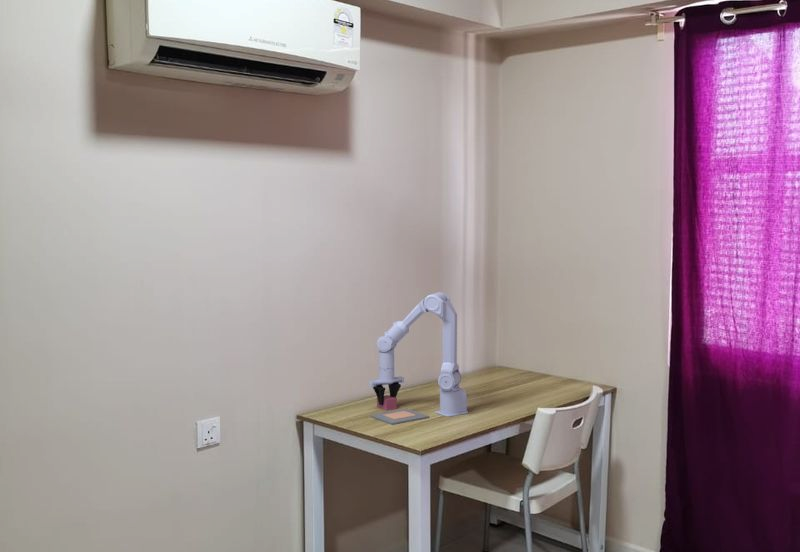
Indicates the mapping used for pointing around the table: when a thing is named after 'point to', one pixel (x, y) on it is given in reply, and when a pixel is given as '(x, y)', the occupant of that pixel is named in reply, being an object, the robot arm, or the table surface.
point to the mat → (399, 416)
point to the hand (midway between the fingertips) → (386, 403)
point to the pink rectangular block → (388, 403)
